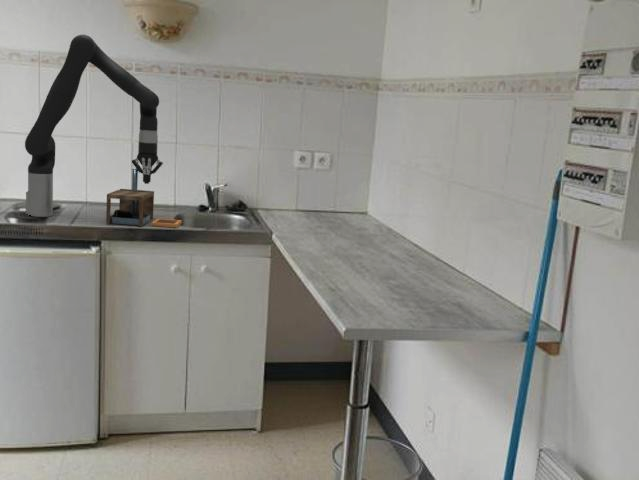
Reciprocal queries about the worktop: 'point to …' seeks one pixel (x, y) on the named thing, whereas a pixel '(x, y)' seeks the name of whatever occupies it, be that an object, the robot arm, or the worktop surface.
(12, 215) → the worktop surface
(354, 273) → the worktop surface
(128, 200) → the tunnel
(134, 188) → the stand with upright post
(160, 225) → the tray
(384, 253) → the worktop surface
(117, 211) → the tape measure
